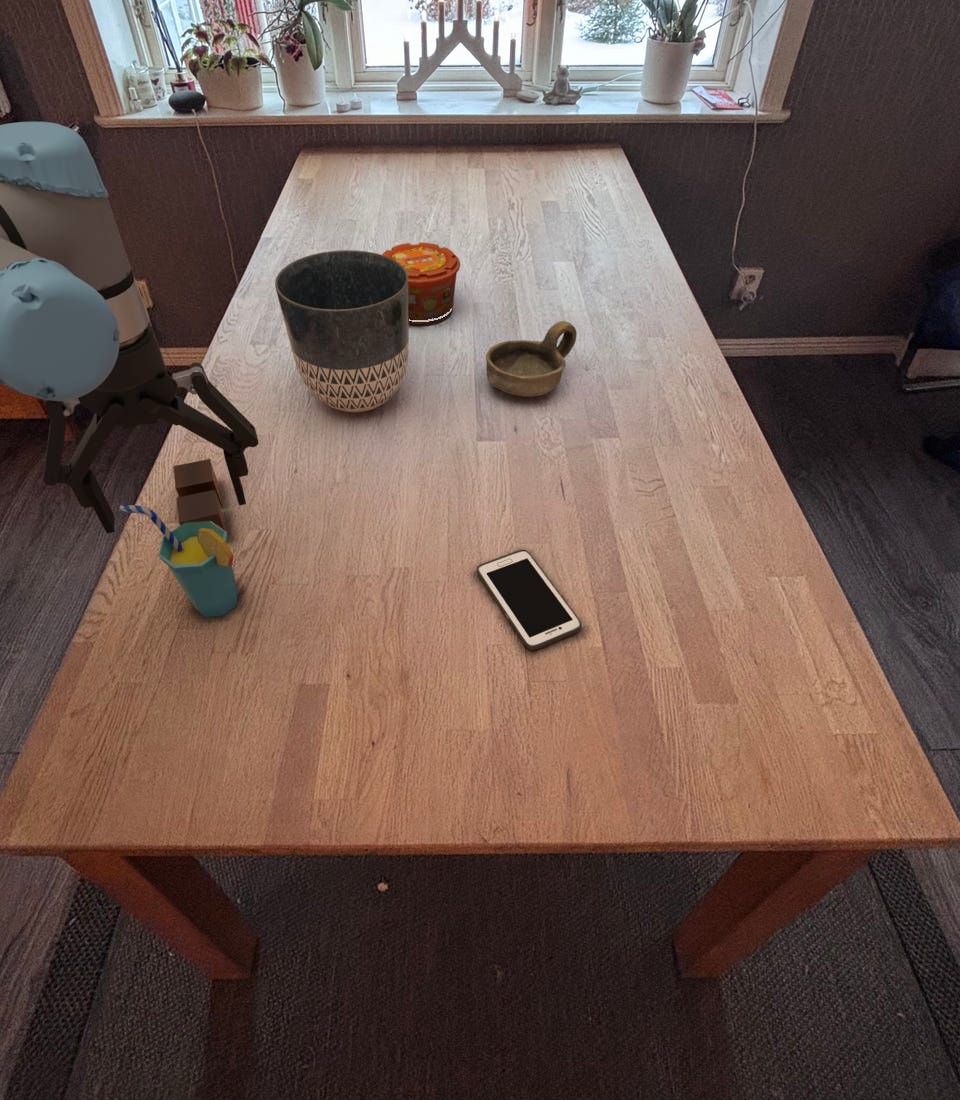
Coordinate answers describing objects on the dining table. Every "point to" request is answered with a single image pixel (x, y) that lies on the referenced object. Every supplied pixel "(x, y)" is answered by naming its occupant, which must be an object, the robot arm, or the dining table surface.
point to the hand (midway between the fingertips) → (177, 510)
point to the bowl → (530, 362)
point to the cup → (198, 562)
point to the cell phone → (528, 599)
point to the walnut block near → (200, 509)
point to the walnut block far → (196, 478)
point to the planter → (347, 325)
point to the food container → (428, 279)
